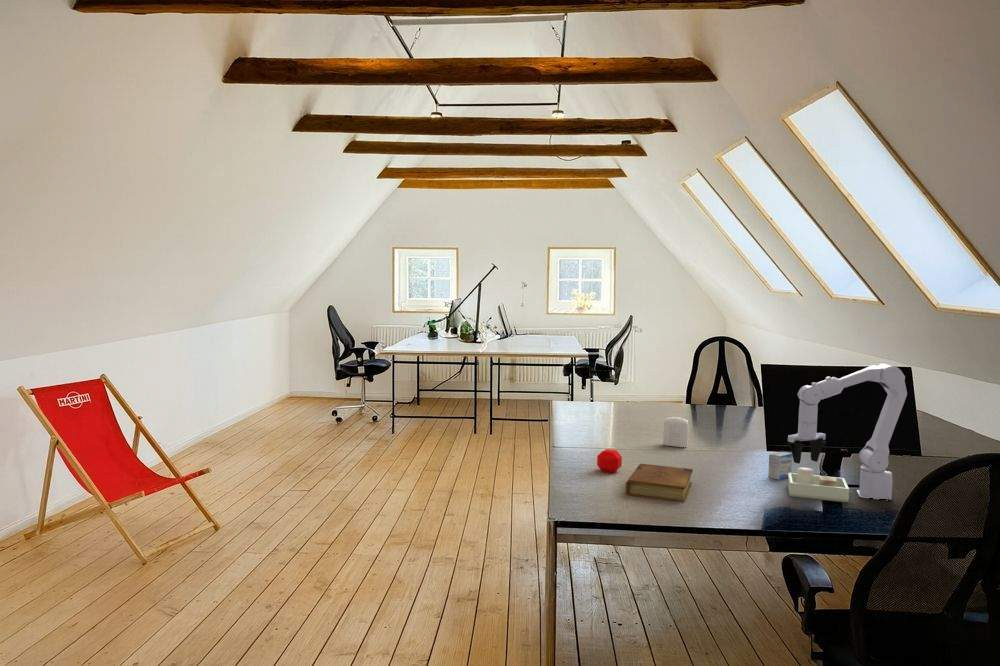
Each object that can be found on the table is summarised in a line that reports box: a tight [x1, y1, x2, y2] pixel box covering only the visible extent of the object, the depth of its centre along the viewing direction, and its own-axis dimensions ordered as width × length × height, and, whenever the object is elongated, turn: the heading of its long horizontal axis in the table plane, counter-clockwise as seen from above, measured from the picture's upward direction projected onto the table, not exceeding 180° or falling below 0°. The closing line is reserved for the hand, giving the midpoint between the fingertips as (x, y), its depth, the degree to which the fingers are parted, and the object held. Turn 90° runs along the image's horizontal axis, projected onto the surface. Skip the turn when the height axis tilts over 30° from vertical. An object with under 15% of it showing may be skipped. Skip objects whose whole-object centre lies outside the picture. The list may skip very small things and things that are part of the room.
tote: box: [787, 472, 850, 503], centre depth 246 cm, size 18×14×4 cm
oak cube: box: [818, 475, 837, 487], centre depth 244 cm, size 5×5×5 cm
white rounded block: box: [662, 416, 690, 449], centre depth 311 cm, size 10×4×12 cm, turn 67°
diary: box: [625, 463, 694, 503], centre depth 248 cm, size 23×19×6 cm
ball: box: [596, 448, 623, 474], centre depth 269 cm, size 8×8×8 cm
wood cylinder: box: [796, 467, 815, 485], centre depth 247 cm, size 5×5×7 cm
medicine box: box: [767, 451, 793, 481], centre depth 265 cm, size 8×4×9 cm, turn 126°
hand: (805, 461), depth 247 cm, fingers open, 7 cm apart
